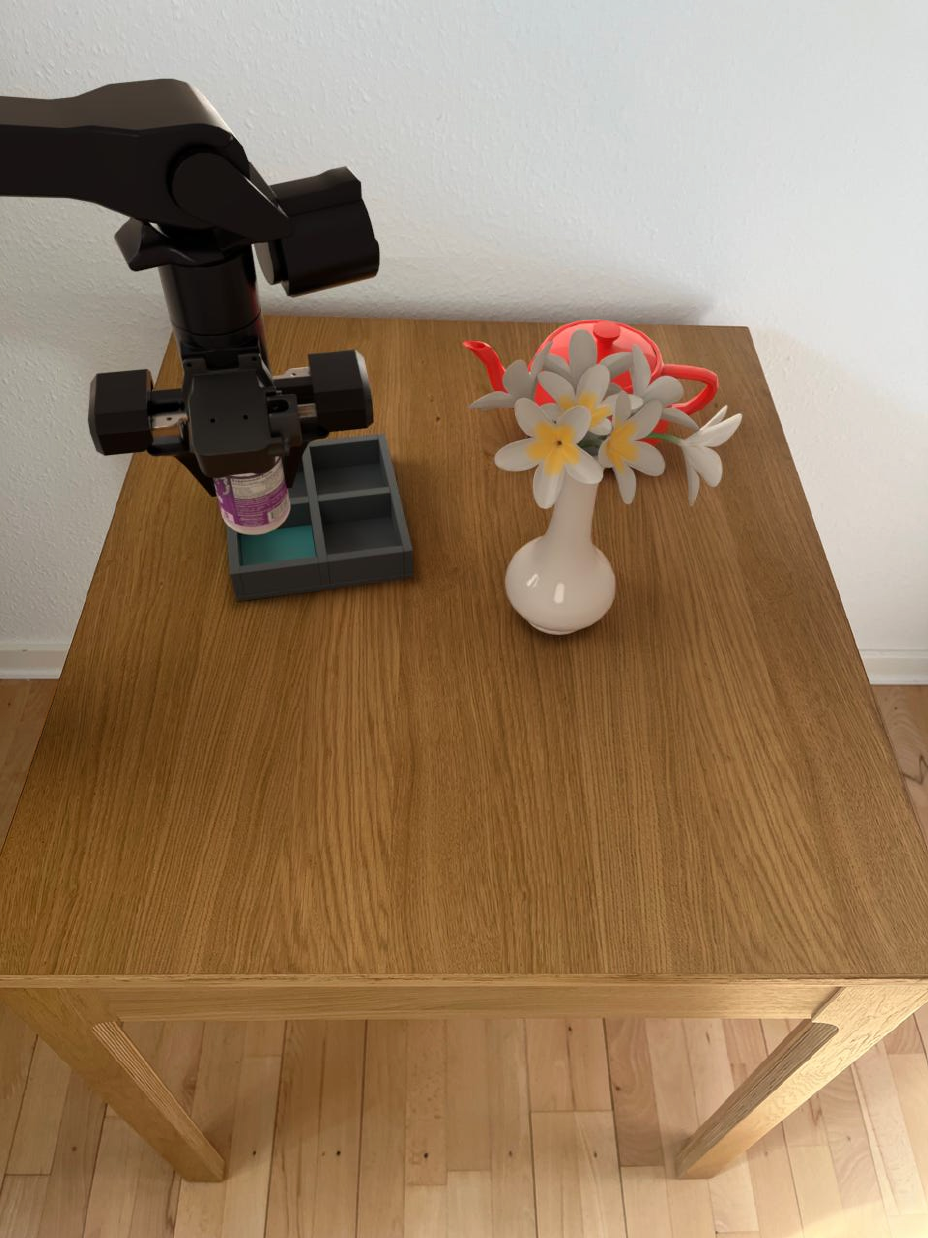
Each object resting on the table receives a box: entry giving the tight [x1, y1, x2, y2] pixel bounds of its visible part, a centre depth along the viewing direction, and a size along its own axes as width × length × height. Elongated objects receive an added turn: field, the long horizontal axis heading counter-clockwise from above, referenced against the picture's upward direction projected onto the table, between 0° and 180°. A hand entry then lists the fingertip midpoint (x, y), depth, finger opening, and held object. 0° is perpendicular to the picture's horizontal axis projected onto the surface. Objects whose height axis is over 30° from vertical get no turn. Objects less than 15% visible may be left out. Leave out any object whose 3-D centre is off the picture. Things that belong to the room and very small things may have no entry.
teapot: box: [461, 319, 720, 448], centre depth 92 cm, size 25×16×12 cm, turn 86°
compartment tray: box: [225, 433, 414, 602], centre depth 85 cm, size 15×15×4 cm
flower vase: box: [467, 329, 743, 636], centre depth 72 cm, size 13×18×25 cm
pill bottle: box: [213, 456, 290, 535], centre depth 70 cm, size 5×5×10 cm
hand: (251, 489), depth 72 cm, fingers closed on pill bottle, 5 cm apart
